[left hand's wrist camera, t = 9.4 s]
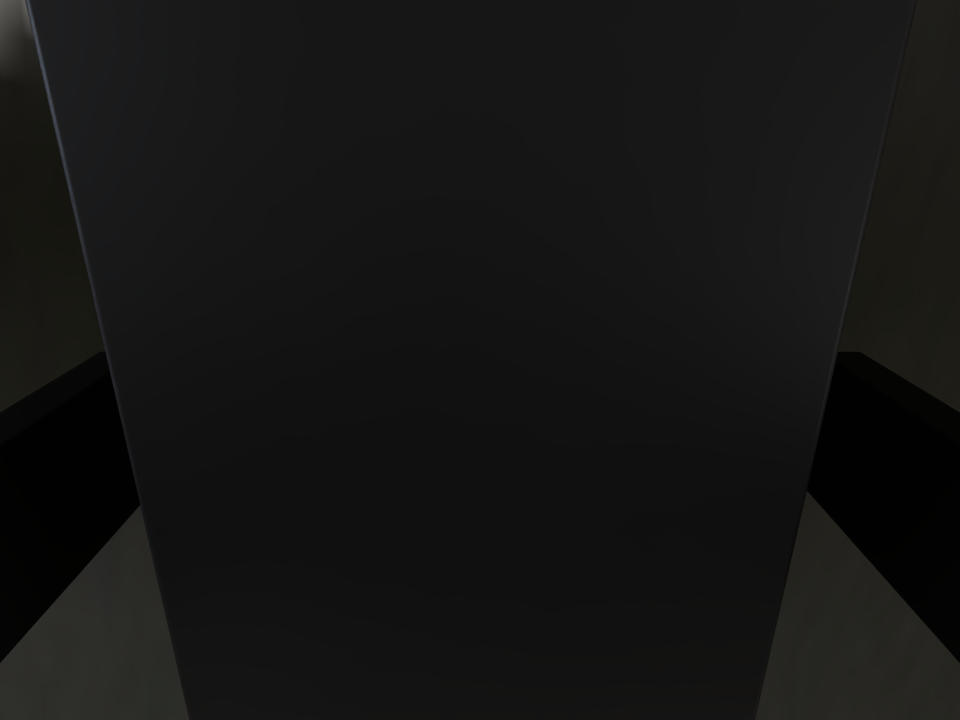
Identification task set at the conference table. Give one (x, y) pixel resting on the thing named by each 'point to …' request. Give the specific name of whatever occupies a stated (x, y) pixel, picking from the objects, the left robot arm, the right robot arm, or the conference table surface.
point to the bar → (471, 333)
